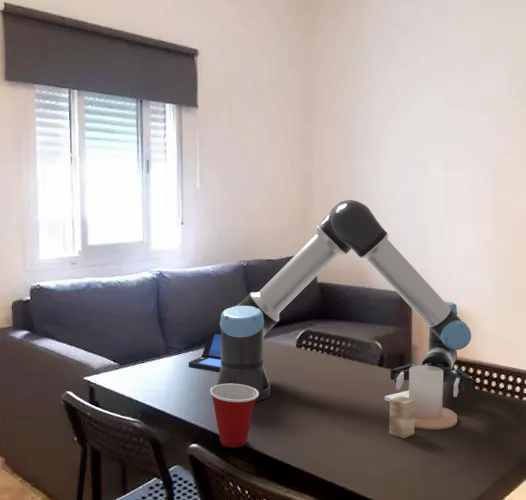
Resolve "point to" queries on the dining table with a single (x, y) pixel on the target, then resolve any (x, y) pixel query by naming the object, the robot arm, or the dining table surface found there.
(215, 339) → the handheld game console
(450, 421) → the peach round disc
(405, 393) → the white square pad
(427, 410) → the white pillar candle
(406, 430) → the beech block
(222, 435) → the plastic cup
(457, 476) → the dining table surface
